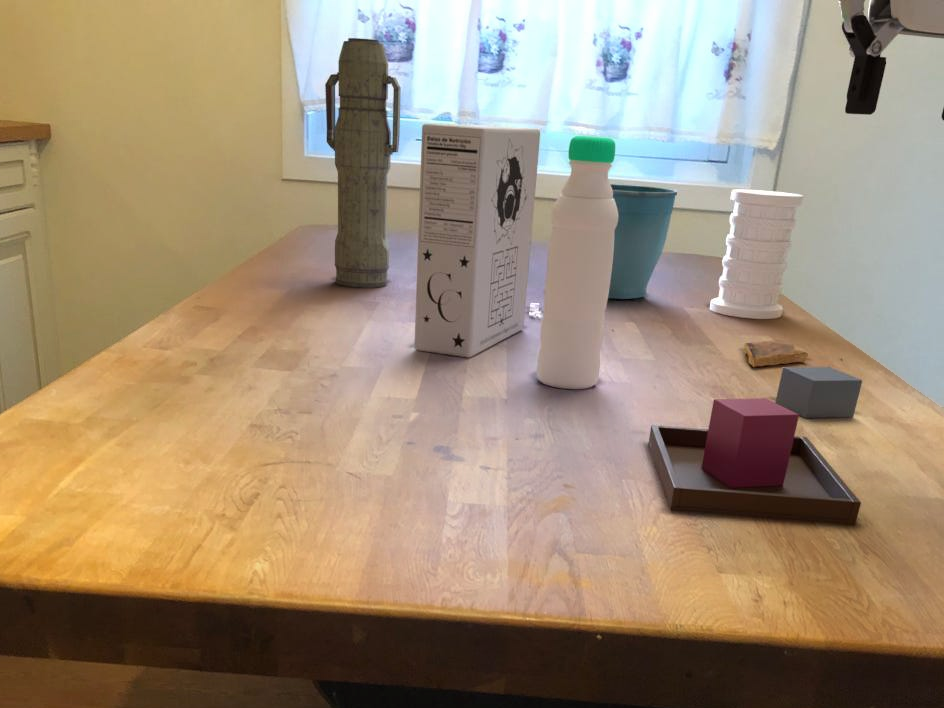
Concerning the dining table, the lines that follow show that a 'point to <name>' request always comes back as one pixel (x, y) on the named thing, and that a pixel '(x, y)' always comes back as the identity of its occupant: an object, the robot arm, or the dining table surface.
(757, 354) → the tan flat slab
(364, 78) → the thermos
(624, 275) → the flower pot
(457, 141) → the cereal box
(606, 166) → the water bottle
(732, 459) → the mulberry block
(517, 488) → the dining table surface
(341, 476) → the dining table surface
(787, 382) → the base block
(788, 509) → the tray
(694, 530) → the dining table surface
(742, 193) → the decorative container
